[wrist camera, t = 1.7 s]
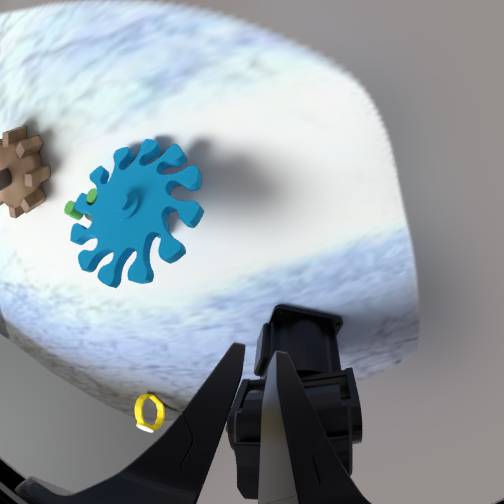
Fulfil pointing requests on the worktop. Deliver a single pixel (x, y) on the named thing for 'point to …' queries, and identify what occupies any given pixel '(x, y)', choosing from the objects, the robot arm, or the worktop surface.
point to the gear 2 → (134, 212)
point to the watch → (139, 413)
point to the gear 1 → (21, 172)
